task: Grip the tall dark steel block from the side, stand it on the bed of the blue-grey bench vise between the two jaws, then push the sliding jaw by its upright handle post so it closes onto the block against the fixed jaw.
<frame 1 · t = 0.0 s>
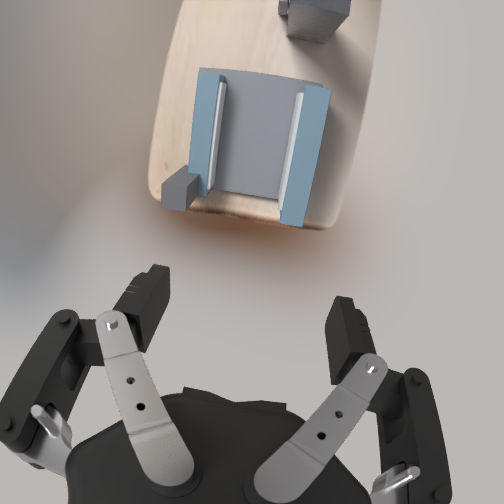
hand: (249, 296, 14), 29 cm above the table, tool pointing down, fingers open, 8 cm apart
steel block: (307, 27, 29), on the table
vise base: (251, 133, 37), on the table
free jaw: (194, 136, 33), point 6 cm above the table, slide at 0.0 cm
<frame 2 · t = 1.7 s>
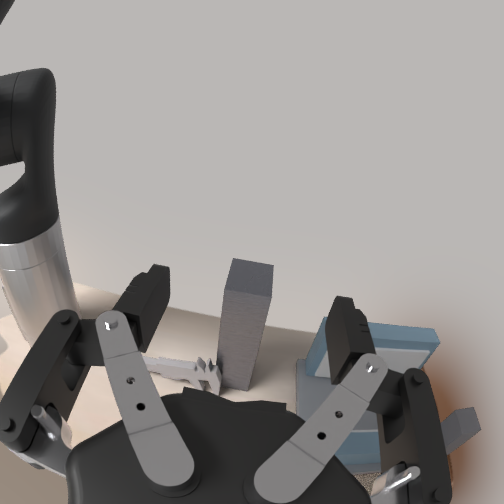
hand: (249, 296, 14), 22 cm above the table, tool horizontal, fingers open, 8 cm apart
caliper: (139, 373, 32), on the table
steel block: (233, 372, 34), on the table
vise base: (362, 417, 30), on the table
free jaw: (395, 441, 22), point 6 cm above the table, slide at 0.0 cm
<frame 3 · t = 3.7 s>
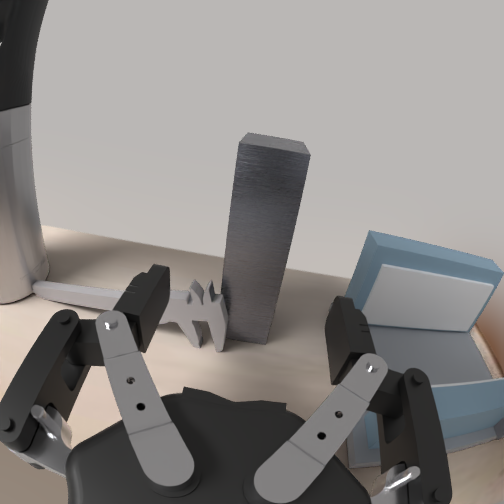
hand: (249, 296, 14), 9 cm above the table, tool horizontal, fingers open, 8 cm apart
caliper: (109, 321, 23), on the table
steel block: (244, 320, 25), on the table
vise base: (424, 377, 21), on the table
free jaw: (490, 394, 13), point 6 cm above the table, slide at 0.0 cm
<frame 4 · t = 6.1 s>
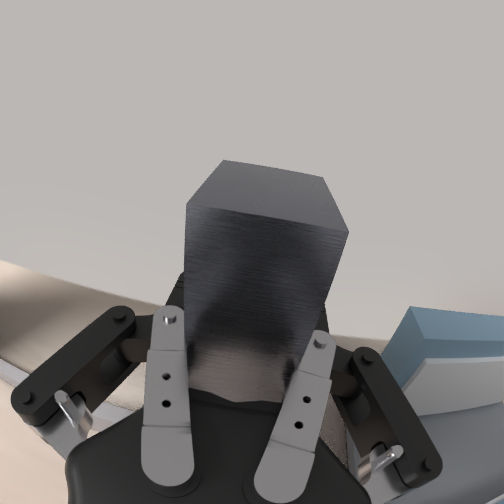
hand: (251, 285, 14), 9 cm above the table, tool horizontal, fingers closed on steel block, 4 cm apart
caliper: (57, 411, 14), on the table
steel block: (228, 418, 17), on the table, touching gripper
vise base: (450, 473, 12), on the table
when the fingers open (11 cm above the table, at t = 10.2 s): steel block stays where it is, resting on vise base.
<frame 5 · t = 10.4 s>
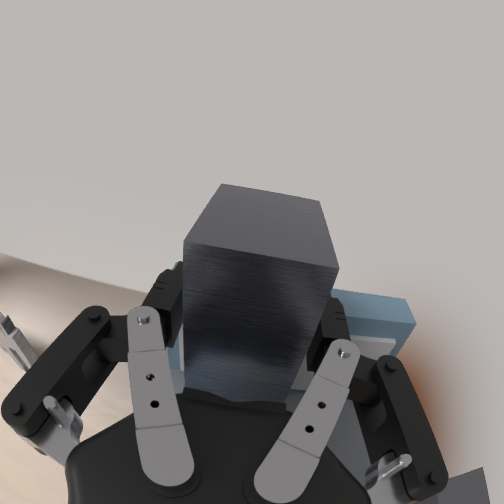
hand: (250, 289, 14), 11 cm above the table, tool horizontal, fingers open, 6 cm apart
steel block: (227, 426, 17), point 1 cm above the table, touching vise base
vise base: (259, 453, 16), on the table
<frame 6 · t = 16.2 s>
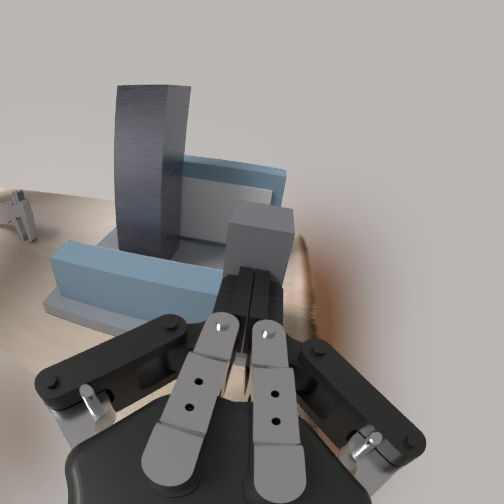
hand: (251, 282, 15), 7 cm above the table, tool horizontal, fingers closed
steel block: (151, 255, 26), point 1 cm above the table, touching vise base
vise base: (171, 277, 25), on the table
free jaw: (148, 260, 17), point 6 cm above the table, slide at 0.3 cm, touching gripper
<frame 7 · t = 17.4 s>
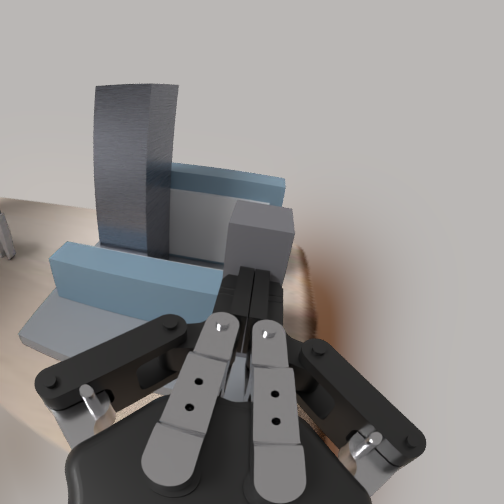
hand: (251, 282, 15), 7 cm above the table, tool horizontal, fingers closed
steel block: (138, 270, 24), point 1 cm above the table, touching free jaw, vise base
vise base: (156, 302, 22), on the table
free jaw: (147, 261, 17), point 6 cm above the table, slide at 3.9 cm, touching gripper, steel block
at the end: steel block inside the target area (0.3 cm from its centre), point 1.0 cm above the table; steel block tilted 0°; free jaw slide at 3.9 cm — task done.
